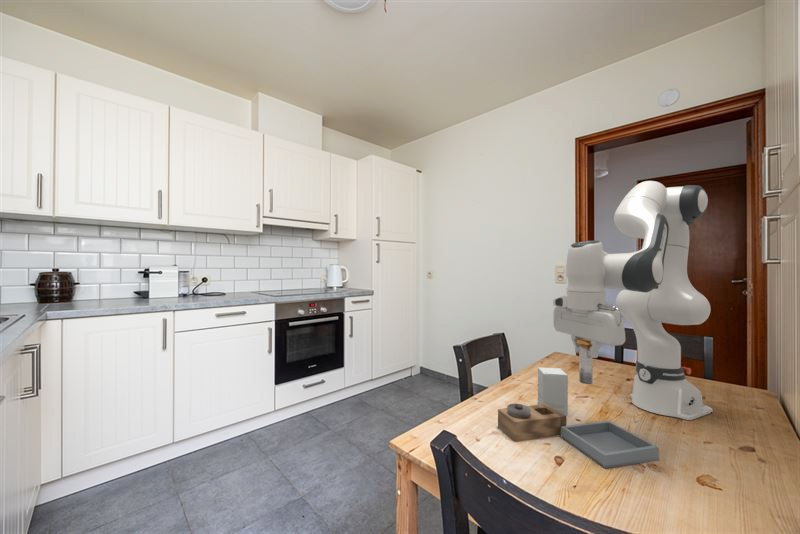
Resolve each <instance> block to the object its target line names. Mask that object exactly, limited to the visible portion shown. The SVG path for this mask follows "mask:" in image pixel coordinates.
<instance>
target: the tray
mask: <svg viewBox="0 0 800 534" xmlns="http://www.w3.org/2000/svg"><path fill="white" fill-rule="evenodd" d="M560 438H561V439H562V440H563V441H565V442H566V443H567V444H569V445H570V446H571V447H573V448H575V449H576V450H577V451H579V452H580V453H582V454H583V455H585V456H586V457H587V458H589V459H590V460H591V461H593V462H595V464H597V465H599V466H601V467H602V468H603V469H604V470H605V469H606V470H607V469H613V468H619V467H625V466H629V465H635V464H642V463H649V462H652V461H653V462H654V461H659V460H660V446H659V445H656V444H654V443H652V442H651V441H648V440H647V439H645V438H643V437H641V436H639V435H637V434H635V433H633V432H631V431H629V430H627V429H625V428H623V427H621V426H620V425H618V424H616V423H614V422H612V421H610V420H603V421H595V422H594V421H593V422H588V423H579V424H570V425H566V426H562V427H561V435H560Z"/></svg>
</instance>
